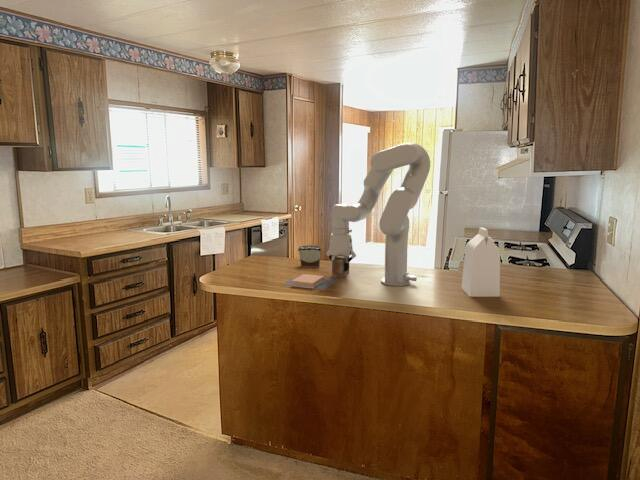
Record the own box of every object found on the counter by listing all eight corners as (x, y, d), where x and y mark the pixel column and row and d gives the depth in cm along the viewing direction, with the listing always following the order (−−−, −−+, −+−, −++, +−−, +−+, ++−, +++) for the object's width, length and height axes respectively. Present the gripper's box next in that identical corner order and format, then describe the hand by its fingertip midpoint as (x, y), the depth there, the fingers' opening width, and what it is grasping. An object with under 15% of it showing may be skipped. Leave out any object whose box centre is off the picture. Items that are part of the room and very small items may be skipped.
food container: (323, 264, 233) (323, 245, 231) (322, 266, 227) (322, 247, 225) (299, 263, 234) (299, 244, 232) (298, 266, 228) (297, 247, 226)
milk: (461, 287, 189) (464, 226, 184) (489, 287, 188) (492, 226, 184) (469, 296, 177) (473, 231, 172) (499, 296, 177) (503, 231, 172)
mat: (339, 280, 201) (339, 279, 201) (324, 291, 186) (324, 289, 186) (299, 276, 209) (299, 275, 209) (281, 286, 194) (281, 284, 194)
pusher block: (349, 274, 213) (349, 255, 211) (340, 280, 202) (340, 261, 201) (341, 273, 215) (341, 254, 213) (332, 279, 204) (332, 260, 202)
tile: (324, 276, 198) (313, 283, 187) (324, 281, 198) (313, 288, 187) (303, 273, 202) (291, 280, 191) (303, 279, 202) (291, 286, 191)
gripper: (361, 231, 205) (360, 270, 208) (326, 229, 211) (326, 266, 215) (355, 233, 198) (355, 274, 201) (320, 231, 205) (320, 270, 208)
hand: (340, 269), depth 208 cm, fingers open, 5 cm apart
